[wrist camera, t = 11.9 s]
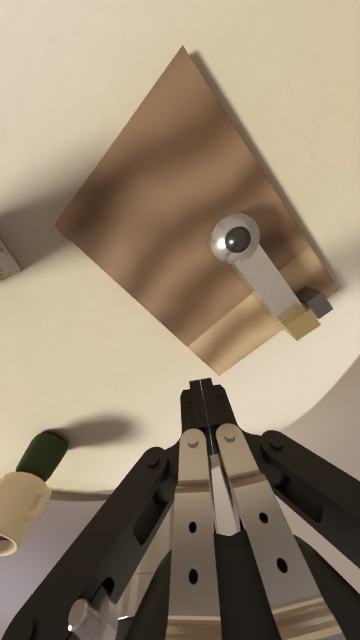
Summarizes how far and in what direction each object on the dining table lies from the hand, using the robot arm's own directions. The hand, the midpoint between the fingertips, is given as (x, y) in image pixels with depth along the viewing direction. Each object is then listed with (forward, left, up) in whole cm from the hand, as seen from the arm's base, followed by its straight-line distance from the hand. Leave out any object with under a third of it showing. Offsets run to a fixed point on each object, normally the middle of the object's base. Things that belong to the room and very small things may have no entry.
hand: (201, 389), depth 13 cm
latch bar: (-1, -9, -12) cm, 16 cm away
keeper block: (-8, -12, -13) cm, 19 cm away
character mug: (-1, +36, -14) cm, 38 cm away
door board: (+4, -6, -14) cm, 16 cm away
